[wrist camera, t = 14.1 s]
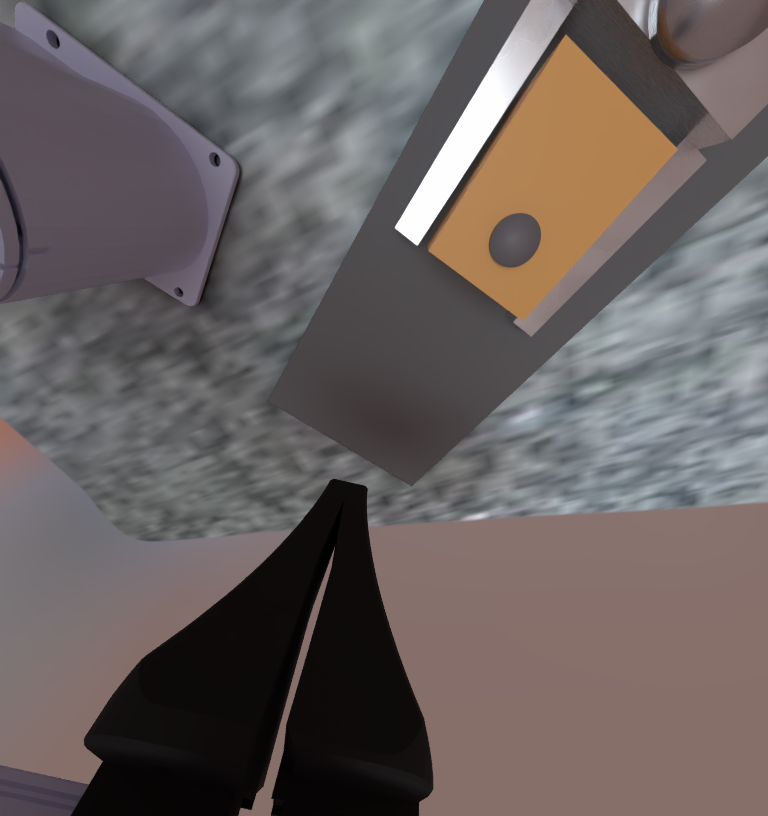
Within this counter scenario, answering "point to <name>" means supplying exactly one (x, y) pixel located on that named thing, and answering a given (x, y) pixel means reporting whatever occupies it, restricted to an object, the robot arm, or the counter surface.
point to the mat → (456, 293)
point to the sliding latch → (642, 84)
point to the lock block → (549, 182)
